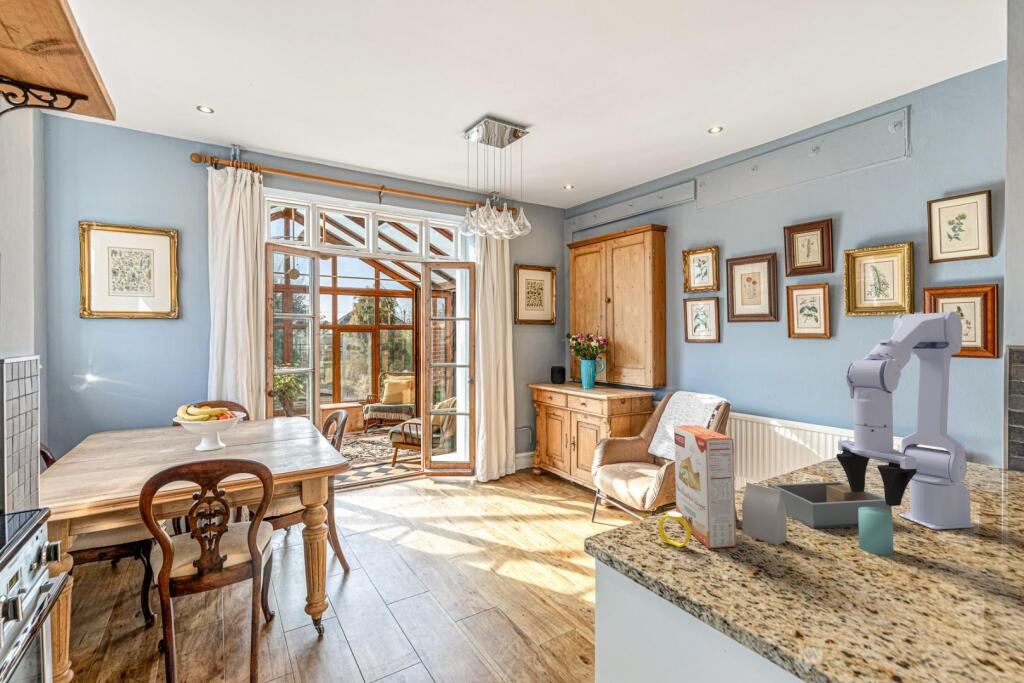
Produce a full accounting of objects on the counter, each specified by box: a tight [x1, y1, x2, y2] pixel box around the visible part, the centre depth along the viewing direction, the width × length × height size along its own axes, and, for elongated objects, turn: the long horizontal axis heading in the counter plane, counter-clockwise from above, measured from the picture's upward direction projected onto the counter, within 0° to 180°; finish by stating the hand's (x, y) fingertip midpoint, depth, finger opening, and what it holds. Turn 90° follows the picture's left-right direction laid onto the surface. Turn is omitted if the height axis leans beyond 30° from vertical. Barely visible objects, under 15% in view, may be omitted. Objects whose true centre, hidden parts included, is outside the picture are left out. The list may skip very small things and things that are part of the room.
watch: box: [657, 511, 692, 548], centre depth 90 cm, size 6×3×6 cm, turn 46°
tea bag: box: [741, 482, 788, 546], centre depth 93 cm, size 4×7×10 cm, turn 33°
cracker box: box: [673, 424, 737, 549], centre depth 95 cm, size 14×6×21 cm, turn 5°
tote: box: [769, 480, 893, 530], centre depth 104 cm, size 18×14×5 cm
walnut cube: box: [826, 484, 866, 502], centre depth 104 cm, size 5×5×5 cm
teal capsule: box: [858, 507, 894, 557], centre depth 86 cm, size 5×5×7 cm
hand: (874, 498), depth 87 cm, fingers open, 7 cm apart
